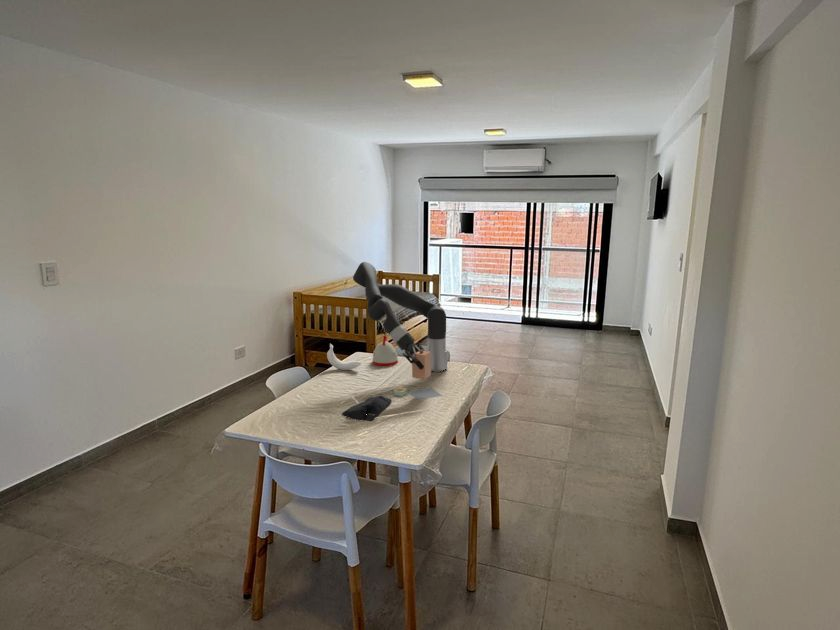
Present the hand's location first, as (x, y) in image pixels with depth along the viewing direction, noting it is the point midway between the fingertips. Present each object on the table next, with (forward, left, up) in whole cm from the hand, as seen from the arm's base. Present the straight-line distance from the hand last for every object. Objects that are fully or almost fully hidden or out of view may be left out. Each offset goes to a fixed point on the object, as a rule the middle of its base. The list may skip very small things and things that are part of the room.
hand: (425, 366), depth 220 cm
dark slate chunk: (+28, +5, -14) cm, 32 cm away
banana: (+23, -52, -14) cm, 59 cm away
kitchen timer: (-1, -56, -14) cm, 58 cm away
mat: (0, -1, -14) cm, 14 cm away
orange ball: (+10, -5, -13) cm, 17 cm away
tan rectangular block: (+1, -2, -5) cm, 5 cm away
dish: (+10, -5, -14) cm, 18 cm away
